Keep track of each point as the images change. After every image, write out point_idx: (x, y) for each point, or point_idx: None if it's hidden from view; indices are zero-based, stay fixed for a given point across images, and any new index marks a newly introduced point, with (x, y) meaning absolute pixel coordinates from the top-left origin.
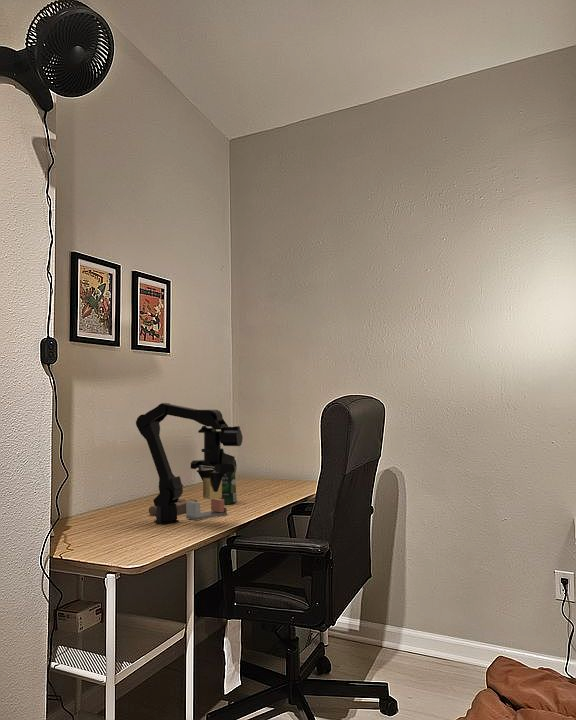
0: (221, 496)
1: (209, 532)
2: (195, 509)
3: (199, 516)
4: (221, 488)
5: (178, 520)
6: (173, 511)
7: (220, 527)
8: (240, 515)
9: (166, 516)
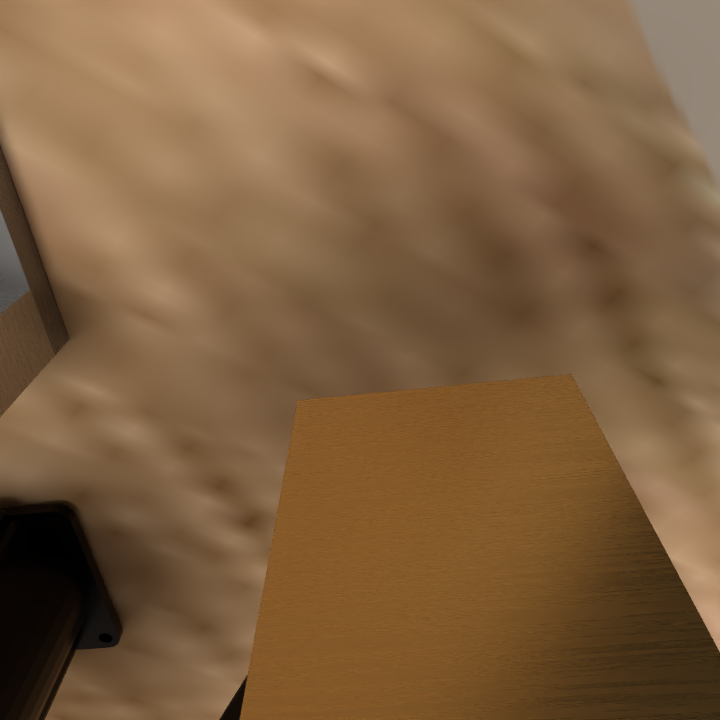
0: (578, 395)
1: (717, 494)
2: (3, 409)
3: (32, 302)
4: (648, 530)
5: (65, 514)
6: (17, 632)
7: (619, 307)
8: None
9: (65, 657)
